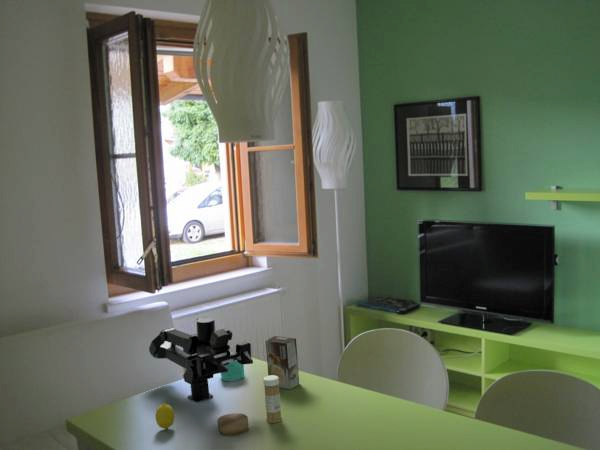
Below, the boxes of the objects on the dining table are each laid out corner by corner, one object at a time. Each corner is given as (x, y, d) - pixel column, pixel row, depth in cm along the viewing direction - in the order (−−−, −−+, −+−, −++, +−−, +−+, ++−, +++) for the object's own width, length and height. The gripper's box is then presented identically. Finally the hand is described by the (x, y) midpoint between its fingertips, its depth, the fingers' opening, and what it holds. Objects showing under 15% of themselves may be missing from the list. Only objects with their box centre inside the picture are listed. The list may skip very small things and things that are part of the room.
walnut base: (212, 429, 198) (211, 419, 197) (237, 420, 203) (236, 410, 203) (228, 438, 191) (227, 428, 190) (254, 428, 196) (253, 419, 196)
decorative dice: (244, 379, 237) (243, 358, 236) (222, 382, 236) (220, 360, 235) (242, 372, 245) (240, 351, 244) (220, 375, 244) (218, 354, 243)
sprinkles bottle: (277, 416, 204) (274, 373, 203) (284, 421, 200) (281, 377, 199) (264, 419, 202) (260, 376, 201) (270, 424, 198) (266, 381, 197)
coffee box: (300, 383, 230) (297, 338, 228) (290, 389, 225) (287, 343, 223) (278, 379, 235) (274, 335, 233) (267, 386, 230) (264, 340, 228)
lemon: (171, 433, 197) (169, 407, 196) (153, 433, 198) (151, 407, 197) (178, 425, 202) (176, 400, 201) (161, 425, 203) (158, 399, 202)
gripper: (184, 335, 206) (212, 348, 194) (235, 321, 218) (264, 333, 206) (186, 369, 208) (214, 384, 196) (236, 354, 220) (265, 367, 208)
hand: (240, 365), depth 202 cm, fingers open, 9 cm apart
